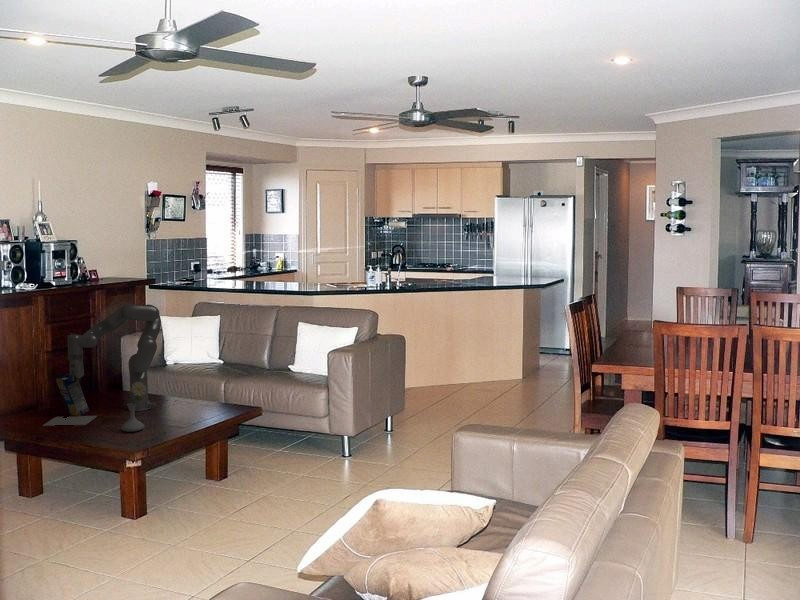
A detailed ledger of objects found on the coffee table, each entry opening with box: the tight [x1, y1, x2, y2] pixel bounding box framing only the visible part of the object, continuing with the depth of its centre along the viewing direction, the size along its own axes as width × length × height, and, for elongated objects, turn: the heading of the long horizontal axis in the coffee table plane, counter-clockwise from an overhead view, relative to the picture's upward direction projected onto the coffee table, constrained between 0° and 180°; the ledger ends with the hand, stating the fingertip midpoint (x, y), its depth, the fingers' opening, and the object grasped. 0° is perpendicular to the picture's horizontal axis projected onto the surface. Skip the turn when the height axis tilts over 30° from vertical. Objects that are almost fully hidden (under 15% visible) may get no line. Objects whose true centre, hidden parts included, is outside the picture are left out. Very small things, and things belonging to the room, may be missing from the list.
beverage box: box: [54, 373, 90, 416], centre depth 461 cm, size 7×11×22 cm, turn 49°
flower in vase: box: [120, 382, 146, 433], centre depth 426 cm, size 13×11×25 cm
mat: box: [42, 415, 98, 427], centre depth 449 cm, size 22×20×1 cm
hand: (77, 390), depth 460 cm, fingers closed
